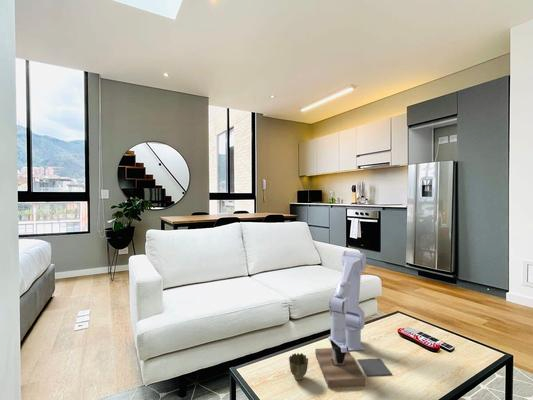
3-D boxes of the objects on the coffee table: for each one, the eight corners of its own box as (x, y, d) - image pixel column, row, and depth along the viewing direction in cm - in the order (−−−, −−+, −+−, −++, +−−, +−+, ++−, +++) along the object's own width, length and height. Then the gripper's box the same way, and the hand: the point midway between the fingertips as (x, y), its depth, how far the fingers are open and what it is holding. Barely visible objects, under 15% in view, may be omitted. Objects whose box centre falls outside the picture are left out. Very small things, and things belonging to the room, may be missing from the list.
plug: (331, 366, 117) (331, 347, 117) (341, 366, 117) (341, 347, 117) (334, 372, 113) (334, 353, 113) (344, 372, 113) (344, 353, 113)
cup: (285, 374, 112) (285, 355, 112) (302, 370, 115) (302, 351, 115) (294, 387, 105) (294, 366, 105) (311, 382, 108) (311, 361, 108)
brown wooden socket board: (315, 355, 125) (315, 348, 125) (346, 353, 126) (346, 347, 126) (328, 387, 105) (328, 380, 105) (364, 385, 106) (365, 378, 106)
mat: (357, 360, 121) (357, 359, 121) (380, 359, 122) (380, 358, 122) (367, 376, 111) (367, 375, 111) (391, 375, 112) (391, 373, 112)
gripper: (323, 318, 121) (323, 349, 122) (334, 336, 107) (333, 371, 108) (340, 318, 122) (339, 348, 122) (352, 336, 107) (352, 370, 108)
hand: (338, 359), depth 115 cm, fingers closed on plug, 4 cm apart
